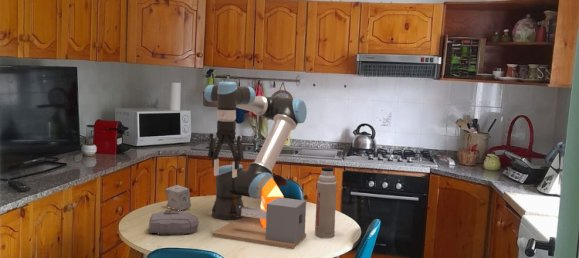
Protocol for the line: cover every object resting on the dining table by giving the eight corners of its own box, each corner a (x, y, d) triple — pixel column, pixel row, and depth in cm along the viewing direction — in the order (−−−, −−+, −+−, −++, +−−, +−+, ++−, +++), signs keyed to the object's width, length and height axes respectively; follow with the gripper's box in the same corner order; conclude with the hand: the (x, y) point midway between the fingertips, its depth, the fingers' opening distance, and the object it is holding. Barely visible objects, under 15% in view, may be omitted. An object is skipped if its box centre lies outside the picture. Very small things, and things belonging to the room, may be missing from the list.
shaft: (234, 218, 213) (235, 206, 213) (240, 215, 218) (240, 203, 218) (276, 224, 207) (277, 211, 207) (281, 220, 212) (281, 208, 211)
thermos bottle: (316, 237, 214) (319, 169, 211) (313, 231, 222) (316, 165, 219) (335, 238, 215) (338, 170, 212) (332, 232, 223) (335, 166, 220)
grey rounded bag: (146, 236, 209) (198, 236, 211) (146, 216, 208) (198, 216, 210) (151, 225, 224) (200, 225, 226) (152, 206, 223) (200, 206, 225)
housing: (212, 236, 211) (213, 198, 210) (230, 225, 226) (231, 190, 225) (292, 249, 200) (294, 208, 198) (306, 237, 215) (307, 199, 213)
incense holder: (164, 208, 250) (164, 186, 249) (179, 205, 256) (179, 184, 255) (176, 212, 244) (176, 190, 243) (191, 209, 250) (191, 187, 249)
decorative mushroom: (286, 207, 259) (287, 177, 257) (263, 206, 259) (264, 176, 257) (286, 202, 270) (287, 173, 268) (265, 201, 270) (266, 172, 268)
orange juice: (263, 229, 224) (266, 185, 218) (259, 219, 232) (262, 176, 226) (281, 228, 226) (285, 184, 220) (276, 218, 234) (280, 176, 228)
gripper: (199, 119, 213) (198, 175, 216) (245, 122, 206) (244, 180, 209) (208, 117, 220) (207, 172, 223) (253, 121, 213) (252, 177, 216)
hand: (225, 176), depth 216 cm, fingers open, 8 cm apart
